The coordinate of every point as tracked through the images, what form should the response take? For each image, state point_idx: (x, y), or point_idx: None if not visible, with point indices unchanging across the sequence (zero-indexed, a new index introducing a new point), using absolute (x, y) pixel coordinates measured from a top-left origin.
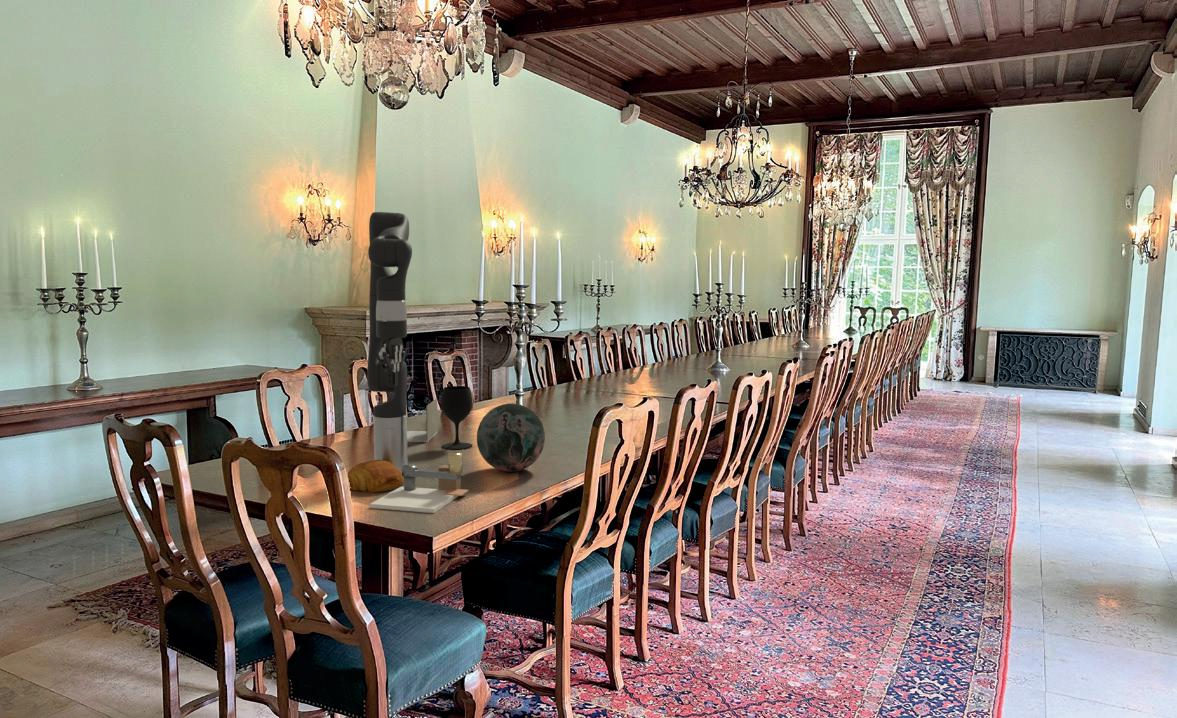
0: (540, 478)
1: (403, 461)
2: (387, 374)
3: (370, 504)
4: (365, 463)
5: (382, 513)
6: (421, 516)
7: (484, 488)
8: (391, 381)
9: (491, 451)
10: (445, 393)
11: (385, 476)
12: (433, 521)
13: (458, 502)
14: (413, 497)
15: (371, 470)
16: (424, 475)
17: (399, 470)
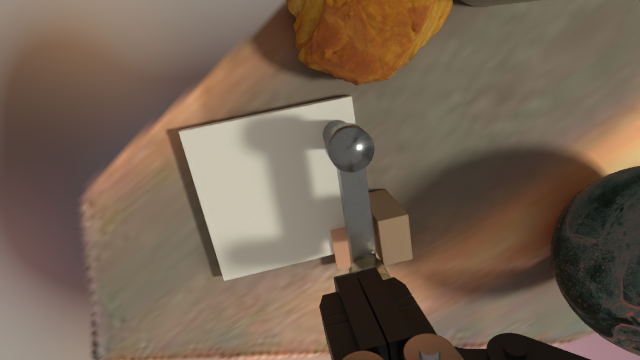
0: (539, 301)
1: (500, 3)
2: (334, 356)
3: (179, 132)
4: None
5: (161, 184)
6: (191, 268)
7: (433, 253)
8: (327, 343)
9: (563, 248)
10: None
11: (330, 68)
12: (176, 307)
13: (315, 270)
14: (278, 188)
15: (324, 20)
16: (341, 196)
17: (472, 1)
